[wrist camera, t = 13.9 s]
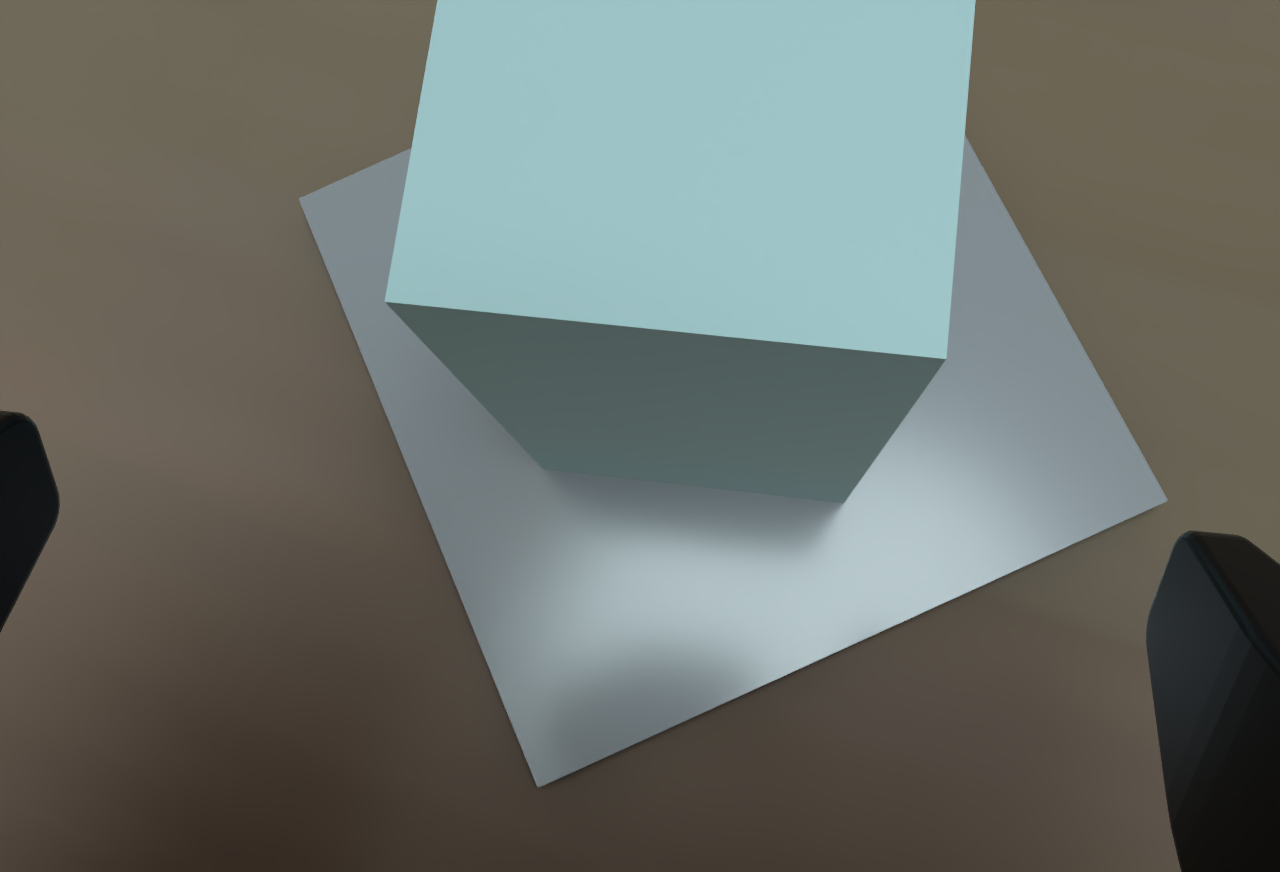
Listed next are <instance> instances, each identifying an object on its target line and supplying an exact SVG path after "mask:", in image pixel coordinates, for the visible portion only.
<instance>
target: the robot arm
mask: <svg viewBox="0 0 1280 872" xmlns="http://www.w3.org/2000/svg"><path fill="white" fill-rule="evenodd" d="M59 506H60V502H59V493H58V489H57V486H56V483H55V480H54V477H53V474H52V471H51V468H50V464H49V461H48V458H47V455H46V452H45V449H44V446H43V443H42V440H41V437H40V434H39V431H38V429H37V426H36V425H35V423H34V422H33V421H32V420H31V419H30V418H29V417H28V416H26V415H24V414H22V413H18V412H9V411H0V632H1V630H2V628H3V626H4V624H5V622H6V620H7V618H8V616H9V614H10V612H11V611H12V609H13V607H14V605H15V603H16V601H17V599H18V597H19V595H20V593H21V591H22V589H23V587H24V585H25V583H26V581H27V579H28V577H29V575H30V573H31V571H32V569H33V567H34V566H35V564H36V562H37V560H38V558H39V556H40V554H41V552H42V550H43V548H44V546H45V544H46V542H47V540H48V538H49V536H50V534H51V532H52V530H53V528H54V526H55V524H56V521H57V518H58V514H59ZM1146 646H1147V654H1148V662H1149V669H1150V677H1151V685H1152V692H1153V700H1154V708H1155V715H1156V723H1157V731H1158V738H1159V746H1160V754H1161V761H1162V769H1163V777H1164V784H1165V792H1166V799H1167V805H1168V812H1169V818H1170V824H1171V829H1172V834H1173V838H1174V843H1175V847H1176V851H1177V856H1178V860H1179V864H1180V868H1181V872H1280V564H1279V563H1277V562H1276V561H1275V560H1274V559H1272V558H1271V557H1270V556H1268V555H1267V554H1266V553H1265V552H1263V551H1262V550H1261V549H1259V548H1258V547H1257V546H1256V545H1254V544H1253V543H1252V542H1250V541H1249V540H1247V539H1246V538H1244V537H1241V536H1238V535H1231V534H1221V533H1211V532H1201V531H1188V532H1186V533H1184V534H1182V535H1181V536H1180V537H1179V538H1178V540H1177V541H1176V542H1175V544H1174V546H1173V548H1172V551H1171V554H1170V557H1169V559H1168V562H1167V565H1166V568H1165V570H1164V573H1163V576H1162V579H1161V581H1160V584H1159V587H1158V590H1157V592H1156V595H1155V598H1154V600H1153V603H1152V606H1151V609H1150V612H1149V615H1148V620H1147V628H1146Z"/></svg>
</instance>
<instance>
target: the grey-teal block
mask: <svg viewBox="0 0 1280 872" xmlns="http://www.w3.org/2000/svg"><path fill="white" fill-rule="evenodd" d="M974 12H975V0H438V1H437V7H436V12H435V18H434V24H433V30H432V35H431V41H430V47H429V52H428V58H427V64H426V69H425V75H424V81H423V86H422V92H421V98H420V103H419V109H418V115H417V120H416V126H415V132H414V137H413V143H412V149H411V154H410V160H409V166H408V171H407V177H406V183H405V188H404V194H403V200H402V206H401V211H400V217H399V223H398V228H397V234H396V240H395V245H394V251H393V257H392V262H391V268H390V274H389V279H388V285H387V291H386V296H385V303H386V304H387V305H388V306H389V307H390V308H391V309H392V310H393V311H394V312H395V313H396V314H397V315H398V316H399V317H400V319H401V320H402V321H403V322H404V323H405V324H406V325H407V326H408V327H409V328H410V329H411V330H412V331H413V332H414V333H415V334H416V335H417V337H418V338H419V339H420V340H421V341H422V342H423V343H424V344H425V345H426V346H427V347H428V348H429V349H430V350H431V351H432V352H433V353H434V354H435V356H436V357H437V358H438V359H439V360H440V361H441V362H442V363H443V364H444V365H445V366H446V367H447V368H448V369H449V370H450V371H451V372H452V374H453V375H454V376H455V377H456V378H457V379H458V380H459V381H460V382H461V383H462V384H463V385H464V386H465V387H466V388H467V389H468V390H469V391H470V393H471V394H472V395H473V396H474V397H475V398H476V399H477V400H478V401H479V402H480V403H481V404H482V405H483V406H484V407H485V408H486V409H487V410H488V412H489V413H490V414H491V415H492V416H493V417H494V418H495V419H496V420H497V421H498V422H499V423H500V424H501V425H502V426H503V427H504V428H505V430H506V431H507V432H508V433H509V434H510V435H511V436H512V437H513V438H514V439H515V440H516V441H517V442H518V443H519V444H520V445H521V446H522V447H523V449H524V450H525V451H526V452H527V453H528V454H529V455H530V456H531V457H532V458H533V459H534V460H535V461H536V462H537V463H538V464H539V465H540V467H541V468H543V469H552V470H560V471H569V472H578V473H586V474H595V475H604V476H612V477H621V478H630V479H638V480H647V481H656V482H664V483H673V484H682V485H690V486H699V487H708V488H716V489H725V490H734V491H742V492H751V493H760V494H768V495H777V496H786V497H794V498H803V499H812V500H820V501H829V502H838V503H845V501H846V500H847V498H848V497H849V496H850V494H851V493H852V491H853V490H854V489H855V487H856V486H857V484H858V483H859V482H860V480H861V479H862V477H863V476H864V475H865V473H866V472H867V470H868V469H869V467H870V466H871V465H872V463H873V462H874V460H875V459H876V458H877V456H878V455H879V453H880V452H881V451H882V449H883V448H884V446H885V445H886V444H887V442H888V441H889V439H890V438H891V436H892V435H893V434H894V432H895V431H896V429H897V428H898V427H899V425H900V424H901V422H902V421H903V420H904V418H905V417H906V415H907V414H908V413H909V411H910V410H911V408H912V407H913V405H914V404H915V403H916V401H917V400H918V398H919V397H920V396H921V394H922V393H923V391H924V390H925V389H926V387H927V386H928V384H929V383H930V382H931V380H932V379H933V377H934V376H935V374H936V373H937V372H938V370H939V369H940V367H941V366H942V365H943V363H944V362H945V360H946V358H947V346H948V333H949V321H950V309H951V296H952V284H953V272H954V259H955V247H956V235H957V222H958V210H959V198H960V185H961V173H962V160H963V148H964V136H965V123H966V111H967V99H968V86H969V74H970V62H971V49H972V37H973V25H974Z"/></svg>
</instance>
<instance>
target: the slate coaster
mask: <svg viewBox="0 0 1280 872" xmlns="http://www.w3.org/2000/svg"><path fill="white" fill-rule="evenodd" d="M411 149H412V148H410V149H408V150H406V151H404V152H401V153H399V154H397V155H395V156H393V157H390V158H388V159H386V160H384V161H381V162H379V163H377V164H375V165H372V166H370V167H368V168H366V169H364V170H361V171H359V172H357V173H355V174H352V175H350V176H348V177H346V178H343V179H341V180H339V181H337V182H335V183H332V184H330V185H328V186H326V187H323V188H321V189H319V190H317V191H314V192H312V193H310V194H308V195H306V196H303V197H301V198H299V201H300V203H301V206H302V208H303V211H304V213H305V216H306V218H307V221H308V223H309V225H310V228H311V230H312V233H313V235H314V238H315V240H316V243H317V245H318V248H319V250H320V253H321V255H322V257H323V260H324V262H325V265H326V267H327V270H328V272H329V275H330V277H331V280H332V282H333V285H334V287H335V290H336V292H337V294H338V297H339V299H340V302H341V304H342V307H343V309H344V312H345V314H346V317H347V319H348V322H349V324H350V326H351V329H352V331H353V334H354V336H355V339H356V341H357V344H358V346H359V349H360V351H361V354H362V356H363V359H364V361H365V363H366V366H367V368H368V371H369V373H370V376H371V378H372V381H373V383H374V386H375V388H376V391H377V393H378V395H379V398H380V400H381V403H382V405H383V408H384V410H385V413H386V415H387V418H388V420H389V423H390V425H391V428H392V430H393V432H394V435H395V437H396V440H397V442H398V445H399V447H400V450H401V452H402V455H403V457H404V460H405V462H406V464H407V467H408V469H409V472H410V474H411V477H412V479H413V482H414V484H415V487H416V489H417V492H418V494H419V497H420V499H421V501H422V504H423V506H424V509H425V511H426V514H427V516H428V519H429V521H430V524H431V526H432V529H433V531H434V533H435V536H436V538H437V541H438V543H439V546H440V548H441V551H442V553H443V556H444V558H445V561H446V563H447V566H448V568H449V570H450V573H451V575H452V578H453V580H454V583H455V585H456V588H457V590H458V593H459V595H460V598H461V600H462V602H463V605H464V607H465V610H466V612H467V615H468V617H469V620H470V622H471V625H472V627H473V630H474V632H475V635H476V637H477V639H478V642H479V644H480V647H481V649H482V652H483V654H484V657H485V659H486V662H487V664H488V667H489V669H490V671H491V674H492V676H493V679H494V681H495V684H496V686H497V689H498V691H499V694H500V696H501V699H502V701H503V704H504V706H505V708H506V711H507V713H508V716H509V718H510V721H511V723H512V726H513V728H514V731H515V733H516V736H517V738H518V740H519V743H520V745H521V748H522V750H523V753H524V755H525V758H526V760H527V763H528V765H529V768H530V770H531V773H532V775H533V777H534V780H535V782H536V785H537V787H538V788H539V787H541V786H544V785H546V784H548V783H550V782H552V781H554V780H557V779H559V778H561V777H563V776H565V775H568V774H570V773H572V772H574V771H576V770H579V769H581V768H583V767H585V766H587V765H590V764H592V763H594V762H596V761H598V760H601V759H603V758H605V757H607V756H609V755H611V754H614V753H616V752H618V751H620V750H622V749H625V748H627V747H629V746H631V745H633V744H636V743H638V742H640V741H642V740H644V739H647V738H649V737H651V736H653V735H655V734H658V733H660V732H662V731H664V730H666V729H668V728H671V727H673V726H675V725H677V724H679V723H682V722H684V721H686V720H688V719H690V718H693V717H695V716H697V715H699V714H701V713H704V712H706V711H708V710H710V709H712V708H715V707H717V706H719V705H721V704H723V703H725V702H728V701H730V700H732V699H734V698H736V697H739V696H741V695H743V694H745V693H747V692H750V691H752V690H754V689H756V688H758V687H761V686H763V685H765V684H767V683H769V682H772V681H774V680H776V679H778V678H780V677H783V676H785V675H787V674H789V673H791V672H793V671H796V670H798V669H800V668H802V667H804V666H807V665H809V664H811V663H813V662H815V661H818V660H820V659H822V658H824V657H826V656H829V655H831V654H833V653H835V652H837V651H840V650H842V649H844V648H846V647H848V646H850V645H853V644H855V643H857V642H859V641H861V640H864V639H866V638H868V637H870V636H872V635H875V634H877V633H879V632H881V631H883V630H886V629H888V628H890V627H892V626H894V625H897V624H899V623H901V622H903V621H905V620H907V619H910V618H912V617H914V616H916V615H918V614H921V613H923V612H925V611H927V610H929V609H932V608H934V607H936V606H938V605H940V604H943V603H945V602H947V601H949V600H951V599H954V598H956V597H958V596H960V595H962V594H964V593H967V592H969V591H971V590H973V589H975V588H978V587H980V586H982V585H984V584H986V583H989V582H991V581H993V580H995V579H997V578H1000V577H1002V576H1004V575H1006V574H1008V573H1011V572H1013V571H1015V570H1017V569H1019V568H1021V567H1024V566H1026V565H1028V564H1030V563H1032V562H1035V561H1037V560H1039V559H1041V558H1043V557H1046V556H1048V555H1050V554H1052V553H1054V552H1057V551H1059V550H1061V549H1063V548H1065V547H1068V546H1070V545H1072V544H1074V543H1076V542H1079V541H1081V540H1083V539H1085V538H1087V537H1089V536H1092V535H1094V534H1096V533H1098V532H1100V531H1103V530H1105V529H1107V528H1109V527H1111V526H1114V525H1116V524H1118V523H1120V522H1122V521H1125V520H1127V519H1129V518H1131V517H1133V516H1136V515H1138V514H1140V513H1142V512H1144V511H1146V510H1149V509H1151V508H1153V507H1155V506H1157V505H1160V504H1162V503H1164V502H1166V501H1168V500H1167V498H1166V496H1165V494H1164V492H1163V491H1162V489H1161V487H1160V485H1159V483H1158V482H1157V480H1156V478H1155V476H1154V474H1153V473H1152V471H1151V469H1150V467H1149V465H1148V464H1147V462H1146V460H1145V458H1144V456H1143V455H1142V453H1141V451H1140V449H1139V447H1138V446H1137V444H1136V442H1135V440H1134V438H1133V437H1132V435H1131V433H1130V431H1129V429H1128V428H1127V426H1126V424H1125V422H1124V420H1123V419H1122V417H1121V415H1120V413H1119V411H1118V410H1117V408H1116V406H1115V404H1114V402H1113V401H1112V399H1111V397H1110V395H1109V393H1108V392H1107V390H1106V388H1105V386H1104V384H1103V383H1102V381H1101V379H1100V377H1099V375H1098V374H1097V372H1096V370H1095V368H1094V366H1093V365H1092V363H1091V361H1090V359H1089V357H1088V356H1087V354H1086V352H1085V350H1084V348H1083V347H1082V345H1081V343H1080V341H1079V339H1078V338H1077V336H1076V334H1075V332H1074V330H1073V329H1072V327H1071V325H1070V323H1069V321H1068V320H1067V318H1066V316H1065V314H1064V312H1063V311H1062V309H1061V307H1060V305H1059V303H1058V302H1057V300H1056V298H1055V296H1054V294H1053V293H1052V291H1051V289H1050V287H1049V285H1048V284H1047V282H1046V280H1045V278H1044V276H1043V275H1042V273H1041V271H1040V269H1039V268H1038V266H1037V264H1036V262H1035V260H1034V259H1033V257H1032V255H1031V253H1030V251H1029V250H1028V248H1027V246H1026V244H1025V242H1024V241H1023V239H1022V237H1021V235H1020V233H1019V232H1018V230H1017V228H1016V226H1015V224H1014V223H1013V221H1012V219H1011V217H1010V215H1009V214H1008V212H1007V210H1006V208H1005V206H1004V205H1003V203H1002V201H1001V199H1000V197H999V196H998V194H997V192H996V190H995V188H994V187H993V185H992V183H991V181H990V179H989V178H988V176H987V174H986V172H985V170H984V169H983V167H982V165H981V163H980V161H979V160H978V158H977V156H976V154H975V152H974V151H973V149H972V147H971V145H970V143H969V142H968V140H967V138H966V136H964V148H963V160H962V173H961V185H960V198H959V210H958V222H957V235H956V247H955V259H954V272H953V284H952V296H951V309H950V321H949V333H948V346H947V358H946V360H945V362H944V363H943V365H942V366H941V367H940V369H939V370H938V372H937V373H936V374H935V376H934V377H933V379H932V380H931V382H930V383H929V384H928V386H927V387H926V389H925V390H924V391H923V393H922V394H921V396H920V397H919V398H918V400H917V401H916V403H915V404H914V405H913V407H912V408H911V410H910V411H909V413H908V414H907V415H906V417H905V418H904V420H903V421H902V422H901V424H900V425H899V427H898V428H897V429H896V431H895V432H894V434H893V435H892V436H891V438H890V439H889V441H888V442H887V444H886V445H885V446H884V448H883V449H882V451H881V452H880V453H879V455H878V456H877V458H876V459H875V460H874V462H873V463H872V465H871V466H870V467H869V469H868V470H867V472H866V473H865V475H864V476H863V477H862V479H861V480H860V482H859V483H858V484H857V486H856V487H855V489H854V490H853V491H852V493H851V494H850V496H849V497H848V498H847V500H846V501H845V503H838V502H829V501H820V500H812V499H803V498H794V497H786V496H777V495H768V494H760V493H751V492H742V491H734V490H725V489H716V488H708V487H699V486H690V485H682V484H673V483H664V482H656V481H647V480H638V479H630V478H621V477H612V476H604V475H595V474H586V473H578V472H569V471H560V470H552V469H543V468H541V467H540V465H539V464H538V463H537V462H536V461H535V460H534V459H533V458H532V457H531V456H530V455H529V454H528V453H527V452H526V451H525V450H524V449H523V447H522V446H521V445H520V444H519V443H518V442H517V441H516V440H515V439H514V438H513V437H512V436H511V435H510V434H509V433H508V432H507V431H506V430H505V428H504V427H503V426H502V425H501V424H500V423H499V422H498V421H497V420H496V419H495V418H494V417H493V416H492V415H491V414H490V413H489V412H488V410H487V409H486V408H485V407H484V406H483V405H482V404H481V403H480V402H479V401H478V400H477V399H476V398H475V397H474V396H473V395H472V394H471V393H470V391H469V390H468V389H467V388H466V387H465V386H464V385H463V384H462V383H461V382H460V381H459V380H458V379H457V378H456V377H455V376H454V375H453V374H452V372H451V371H450V370H449V369H448V368H447V367H446V366H445V365H444V364H443V363H442V362H441V361H440V360H439V359H438V358H437V357H436V356H435V354H434V353H433V352H432V351H431V350H430V349H429V348H428V347H427V346H426V345H425V344H424V343H423V342H422V341H421V340H420V339H419V338H418V337H417V335H416V334H415V333H414V332H413V331H412V330H411V329H410V328H409V327H408V326H407V325H406V324H405V323H404V322H403V321H402V320H401V319H400V317H399V316H398V315H397V314H396V313H395V312H394V311H393V310H392V309H391V308H390V307H389V306H388V305H387V304H386V303H385V296H386V291H387V285H388V279H389V274H390V268H391V262H392V257H393V251H394V245H395V240H396V234H397V228H398V223H399V217H400V211H401V206H402V200H403V194H404V188H405V183H406V177H407V171H408V166H409V160H410V154H411Z"/></svg>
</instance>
